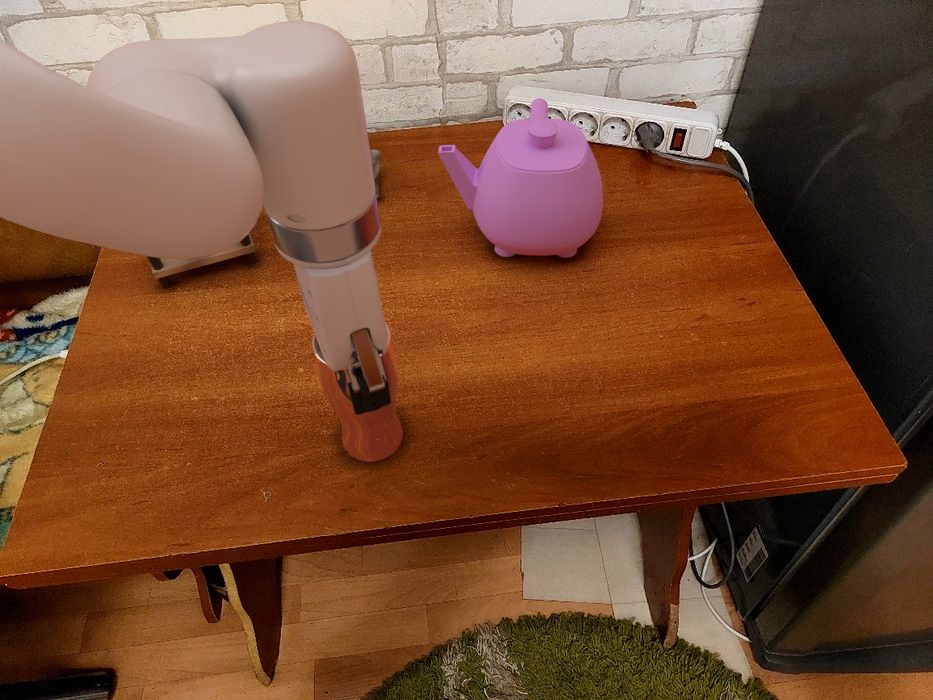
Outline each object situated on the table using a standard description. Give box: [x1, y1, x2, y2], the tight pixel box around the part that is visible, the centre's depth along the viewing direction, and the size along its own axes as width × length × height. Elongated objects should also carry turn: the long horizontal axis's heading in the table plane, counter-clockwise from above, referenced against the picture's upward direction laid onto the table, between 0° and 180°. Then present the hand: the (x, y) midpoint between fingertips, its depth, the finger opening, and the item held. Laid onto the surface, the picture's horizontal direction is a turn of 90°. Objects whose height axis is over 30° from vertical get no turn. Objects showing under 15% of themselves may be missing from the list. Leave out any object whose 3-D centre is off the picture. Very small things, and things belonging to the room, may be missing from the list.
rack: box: [146, 231, 258, 289], centre depth 83 cm, size 12×10×9 cm
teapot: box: [437, 97, 604, 259], centre depth 84 cm, size 20×20×15 cm
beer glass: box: [311, 321, 404, 463], centre depth 63 cm, size 7×7×15 cm
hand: (359, 373), depth 61 cm, fingers closed on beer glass, 7 cm apart
